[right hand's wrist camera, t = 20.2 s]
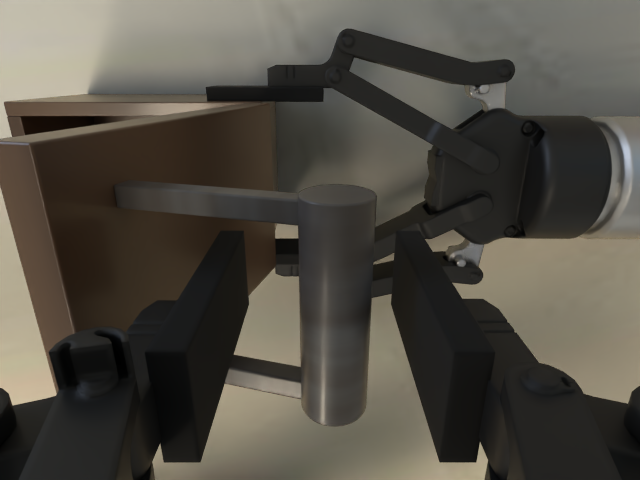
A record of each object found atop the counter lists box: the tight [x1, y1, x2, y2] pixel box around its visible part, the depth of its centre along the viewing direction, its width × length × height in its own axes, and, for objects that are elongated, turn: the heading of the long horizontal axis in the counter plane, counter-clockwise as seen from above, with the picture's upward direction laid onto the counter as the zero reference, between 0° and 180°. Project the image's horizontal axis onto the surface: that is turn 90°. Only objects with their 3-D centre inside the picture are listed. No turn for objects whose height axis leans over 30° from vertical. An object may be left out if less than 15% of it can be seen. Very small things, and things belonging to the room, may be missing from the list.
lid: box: [0, 103, 377, 426], centre depth 17 cm, size 14×9×9 cm
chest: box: [4, 94, 278, 229], centre depth 29 cm, size 14×9×9 cm
